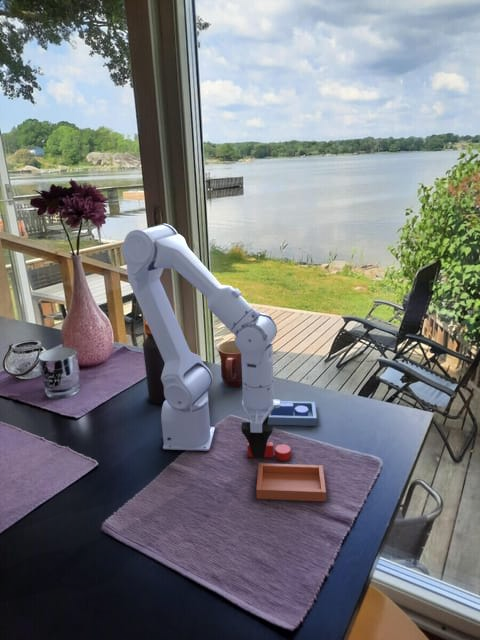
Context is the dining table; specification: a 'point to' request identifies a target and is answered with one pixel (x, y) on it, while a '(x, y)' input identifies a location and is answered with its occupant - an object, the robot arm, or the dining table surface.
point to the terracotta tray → (291, 482)
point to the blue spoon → (289, 410)
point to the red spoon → (280, 451)
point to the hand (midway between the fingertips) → (259, 443)
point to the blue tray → (296, 420)
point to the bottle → (153, 368)
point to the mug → (230, 364)
